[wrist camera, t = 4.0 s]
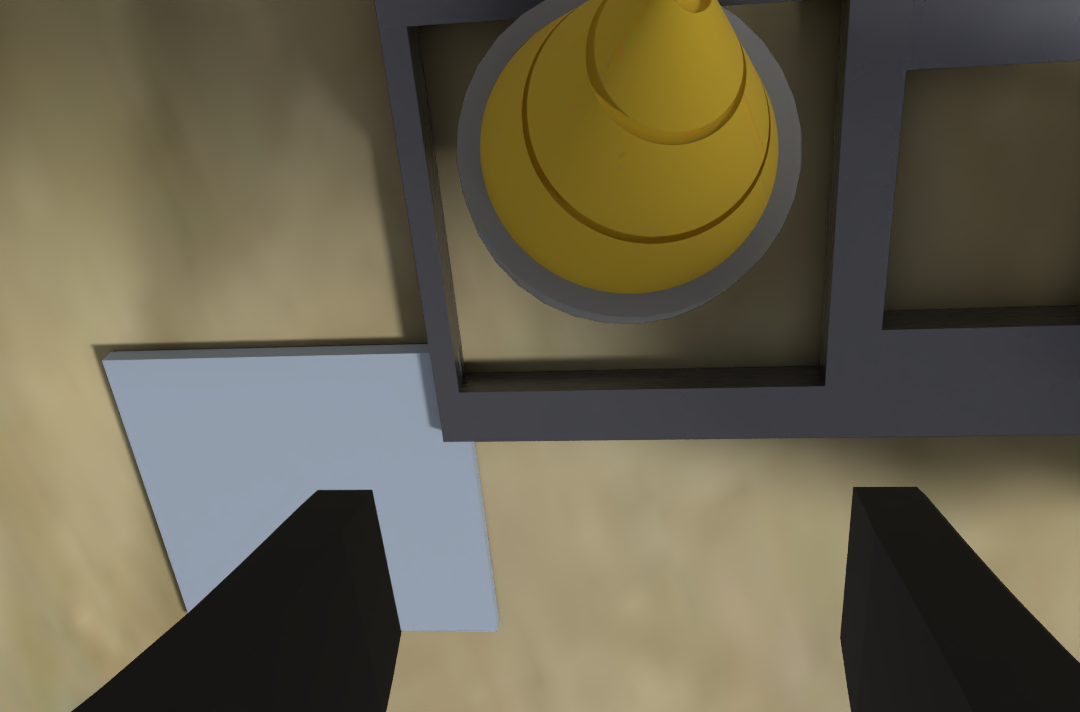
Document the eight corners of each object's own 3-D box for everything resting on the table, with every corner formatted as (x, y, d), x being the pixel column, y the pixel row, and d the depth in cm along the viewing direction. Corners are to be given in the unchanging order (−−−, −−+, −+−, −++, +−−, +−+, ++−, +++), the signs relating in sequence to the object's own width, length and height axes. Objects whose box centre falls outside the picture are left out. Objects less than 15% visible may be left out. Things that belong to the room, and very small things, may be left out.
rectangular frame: (1239, -121, 16) (1265, -116, 15) (1115, 412, 21) (1130, 434, 20) (378, -55, 18) (366, -49, 17) (449, 421, 23) (443, 442, 22)
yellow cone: (442, 109, 20) (332, -232, 10) (706, 34, 20) (871, -380, 10) (516, 373, 19) (482, 306, 9) (787, 297, 19) (1045, 147, 9)
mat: (461, 343, 22) (458, 352, 21) (499, 620, 25) (497, 631, 25) (110, 351, 23) (101, 360, 22) (198, 616, 26) (192, 627, 26)
